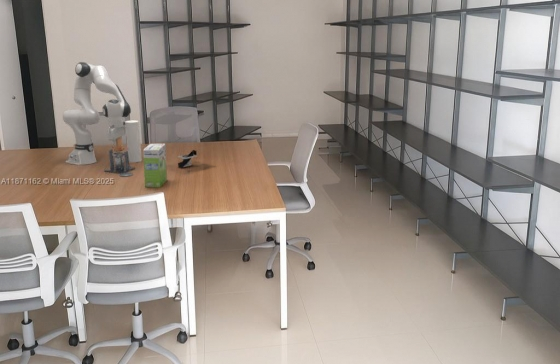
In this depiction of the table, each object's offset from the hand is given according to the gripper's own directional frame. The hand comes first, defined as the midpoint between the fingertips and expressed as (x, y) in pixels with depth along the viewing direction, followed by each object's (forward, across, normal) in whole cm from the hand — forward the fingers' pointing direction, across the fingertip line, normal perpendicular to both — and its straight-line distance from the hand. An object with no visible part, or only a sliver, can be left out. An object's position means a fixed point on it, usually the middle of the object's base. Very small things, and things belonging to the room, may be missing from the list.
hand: (117, 144), depth 362 cm
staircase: (+19, +14, -44) cm, 50 cm away
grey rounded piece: (+18, -11, -9) cm, 24 cm away
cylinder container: (+19, +27, 0) cm, 33 cm away
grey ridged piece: (+18, 0, 0) cm, 19 cm away
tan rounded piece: (+5, 0, 0) cm, 5 cm away
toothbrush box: (+19, -28, -37) cm, 50 cm away
